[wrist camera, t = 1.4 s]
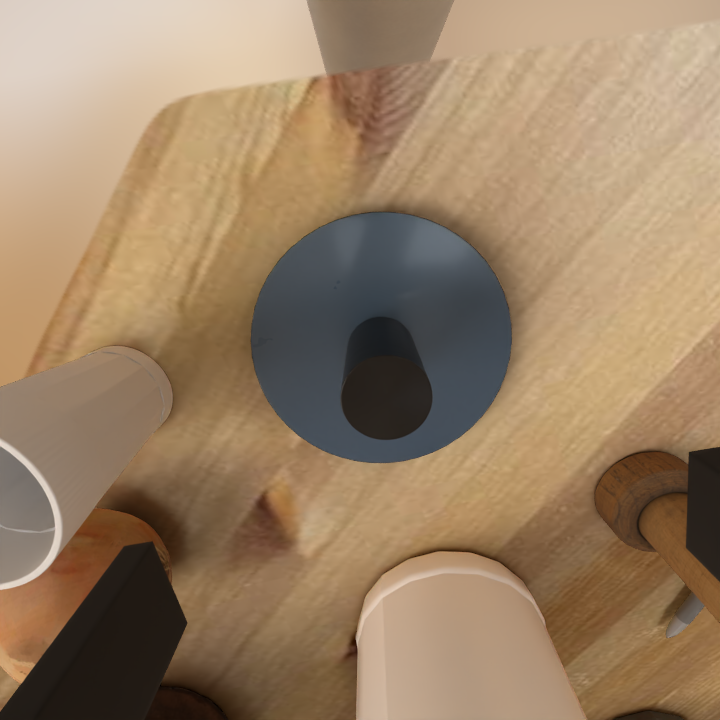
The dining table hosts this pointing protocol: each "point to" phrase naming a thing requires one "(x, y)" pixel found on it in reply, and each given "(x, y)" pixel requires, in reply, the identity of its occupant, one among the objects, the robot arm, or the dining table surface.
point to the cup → (69, 449)
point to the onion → (65, 587)
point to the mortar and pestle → (656, 516)
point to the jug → (182, 706)
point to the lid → (381, 337)
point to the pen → (684, 615)
